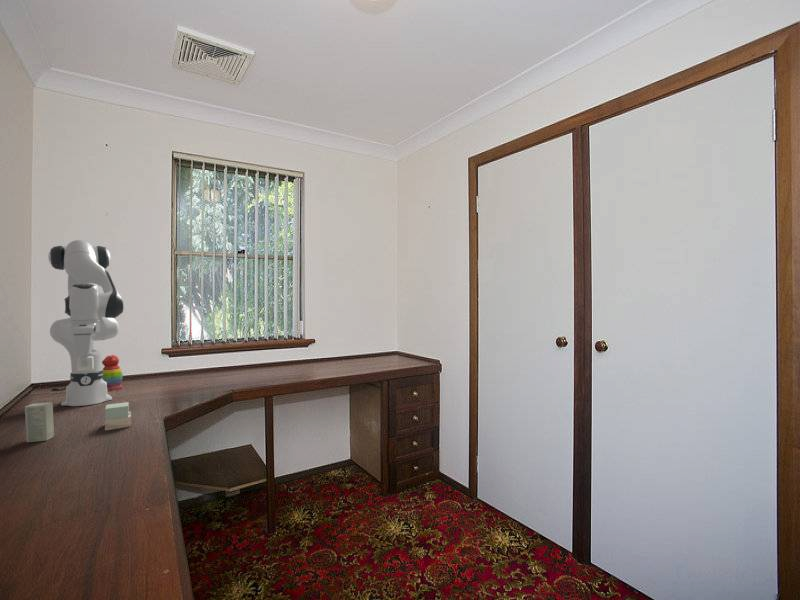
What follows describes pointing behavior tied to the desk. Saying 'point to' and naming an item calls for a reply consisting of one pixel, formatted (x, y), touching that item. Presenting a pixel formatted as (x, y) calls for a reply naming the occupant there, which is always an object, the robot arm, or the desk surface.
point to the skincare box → (39, 422)
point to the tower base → (118, 422)
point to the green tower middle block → (116, 410)
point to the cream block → (88, 367)
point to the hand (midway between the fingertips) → (85, 365)
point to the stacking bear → (112, 373)
